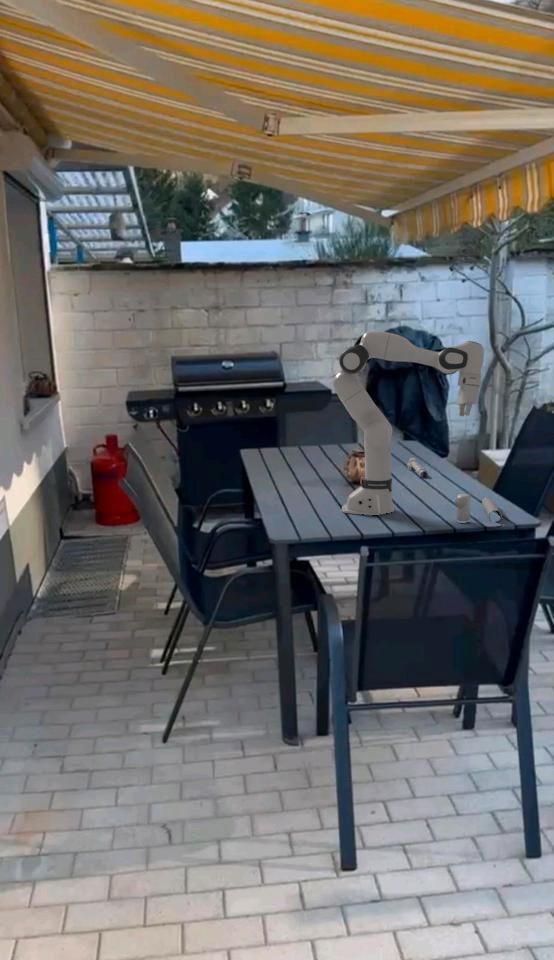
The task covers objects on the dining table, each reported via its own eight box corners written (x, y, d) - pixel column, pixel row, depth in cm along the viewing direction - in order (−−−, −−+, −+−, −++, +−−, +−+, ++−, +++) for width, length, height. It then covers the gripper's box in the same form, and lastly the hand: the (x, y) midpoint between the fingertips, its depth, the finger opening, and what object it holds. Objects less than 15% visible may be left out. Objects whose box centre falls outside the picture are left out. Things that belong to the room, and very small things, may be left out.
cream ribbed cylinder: (419, 471, 396) (406, 455, 419) (418, 483, 398) (406, 467, 421) (429, 470, 396) (416, 455, 420) (428, 483, 399) (415, 466, 422)
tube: (479, 497, 340) (487, 512, 316) (491, 494, 339) (500, 508, 315) (482, 509, 341) (490, 524, 316) (494, 505, 340) (503, 520, 315)
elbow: (458, 519, 320) (459, 493, 318) (471, 521, 317) (473, 494, 315) (452, 524, 314) (453, 497, 311) (465, 525, 311) (466, 499, 308)
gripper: (455, 382, 327) (451, 415, 328) (467, 379, 307) (461, 414, 308) (470, 384, 327) (465, 417, 328) (483, 381, 307) (477, 416, 307)
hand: (464, 415), depth 318 cm, fingers open, 8 cm apart
